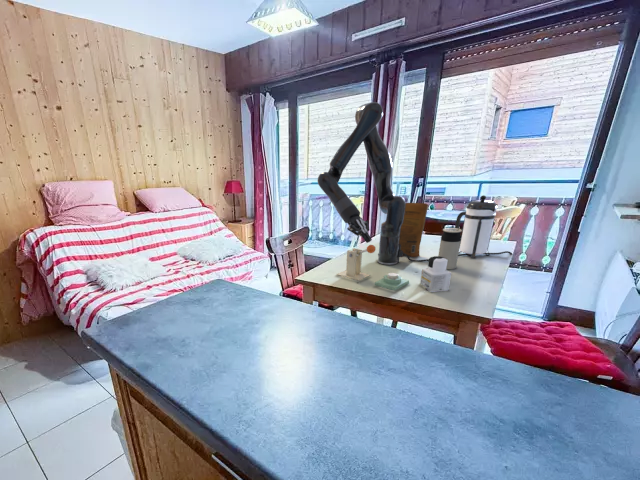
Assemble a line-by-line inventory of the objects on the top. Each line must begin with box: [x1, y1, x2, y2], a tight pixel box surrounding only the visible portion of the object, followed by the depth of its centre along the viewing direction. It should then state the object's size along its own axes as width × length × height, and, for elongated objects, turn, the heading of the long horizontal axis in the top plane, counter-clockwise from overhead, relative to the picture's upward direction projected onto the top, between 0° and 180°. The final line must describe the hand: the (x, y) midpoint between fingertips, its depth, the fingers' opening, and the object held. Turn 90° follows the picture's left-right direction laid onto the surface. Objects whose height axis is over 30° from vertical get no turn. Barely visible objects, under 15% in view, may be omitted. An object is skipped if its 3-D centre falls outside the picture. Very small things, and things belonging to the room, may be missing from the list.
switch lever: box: [355, 244, 376, 256], centre depth 142 cm, size 12×4×4 cm, turn 38°
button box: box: [374, 274, 410, 291], centre depth 137 cm, size 11×9×4 cm
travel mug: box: [437, 227, 462, 270], centre depth 152 cm, size 8×8×18 cm
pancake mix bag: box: [399, 202, 429, 258], centre depth 171 cm, size 7×19×28 cm, turn 43°
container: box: [419, 255, 452, 293], centre depth 131 cm, size 8×8×13 cm
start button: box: [387, 272, 399, 279], centre depth 136 cm, size 4×4×2 cm
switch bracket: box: [336, 248, 371, 281], centre depth 148 cm, size 12×9×13 cm
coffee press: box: [454, 194, 498, 259], centre depth 165 cm, size 17×16×30 cm
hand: (369, 241), depth 138 cm, fingers closed
